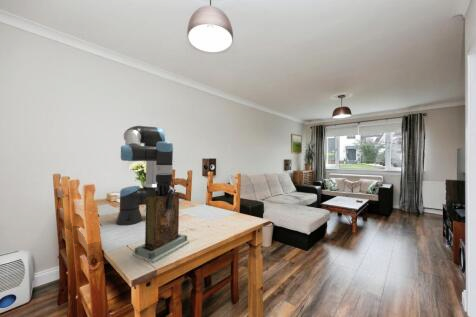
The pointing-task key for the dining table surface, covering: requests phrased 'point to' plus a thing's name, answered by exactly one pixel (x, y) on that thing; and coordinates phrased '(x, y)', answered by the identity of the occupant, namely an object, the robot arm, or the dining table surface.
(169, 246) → the tray
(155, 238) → the book
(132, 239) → the dining table surface
